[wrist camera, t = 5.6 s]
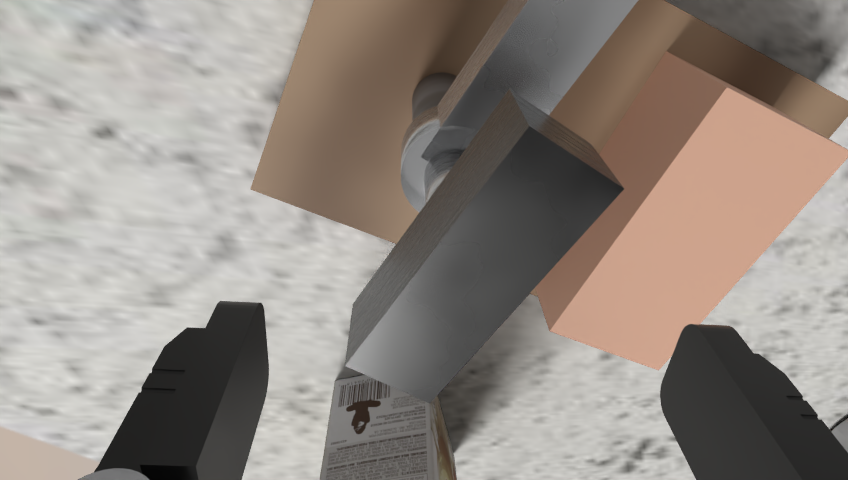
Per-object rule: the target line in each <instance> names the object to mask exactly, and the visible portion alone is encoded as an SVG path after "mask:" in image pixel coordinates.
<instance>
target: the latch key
mask: <svg viewBox="0 0 848 480" xmlns="http://www.w3.org/2000/svg"><path fill="white" fill-rule="evenodd" d="M637 1H638V0H508V1H507V3H506V4H505V6H504V7H503V9H502V10H501V12H500V13H499V15H498V16H497V18H496V19H495V21H494V22H493V24H492V25H491V27H490V28H489V30H488V31H487V33H486V34H485V36H484V37H483V39H482V40H481V42H480V43H479V44H478V46H477V47H476V49H475V50H474V52H473V53H472V55H471V56H470V58H469V59H468V61H467V62H466V64H465V65H464V67H463V68H462V70H461V71H460V73H459V74H458V76H457V77H456V79H455V80H454V82H453V83H452V85H451V86H450V88H449V89H448V91H447V92H446V94H445V95H444V96H443V98H442V99H441V101H440V102H439V104H438V105H437V106H435V107H432V108H430V109H428V110H426V111H424V112H423V113H421V114H420V115H419V116H417V117H416V118H415V119H414V120H413V121H412V123H411V124H410V125H409V127H408V128H407V130H406V132H405V135H404V137H403V141H402V146H401V184H402V189H403V192H404V194H405V196H406V198H407V200H408V201H409V203H410V204H411V205H412V206H413V207H414V209H416V210H417V211H418V212H419V214H418V215H417V217H416V218H415V219H414V221H413V222H412V223H411V225H410V226H409V228H408V229H407V230H406V232H405V233H404V234H403V236H402V237H401V239H400V240H399V241H398V243H397V244H396V246H395V247H394V248H393V250H392V251H391V252H390V254H389V255H388V257H387V258H386V259H385V261H384V262H383V263H382V265H381V266H380V268H379V269H378V270H377V272H376V273H375V274H374V276H373V277H372V279H371V280H370V281H369V283H368V284H367V285H366V287H365V288H364V290H363V291H362V292H361V294H360V295H359V296H358V298H357V299H356V301H355V302H354V303H353V308H352V316H351V324H350V331H349V339H348V347H347V354H346V362H345V366H346V367H348V368H351V369H353V370H355V371H357V372H360V373H362V374H364V375H366V376H369V377H371V378H373V379H375V380H378V381H380V382H382V383H385V384H387V385H389V386H391V387H394V388H396V389H398V390H400V391H403V392H405V393H407V394H409V395H412V396H414V397H416V398H418V399H421V400H423V401H425V402H427V403H431V402H432V401H433V399H434V398H435V397H436V396H437V395H438V394H439V393H440V392H441V391H442V390H443V388H444V387H445V386H446V385H447V384H448V383H449V382H450V381H451V380H452V379H453V377H454V376H455V375H456V374H457V373H458V372H459V371H460V370H461V369H462V368H463V366H464V365H465V364H466V363H467V362H468V361H469V360H470V359H471V358H472V356H473V355H474V354H475V353H476V352H477V351H478V350H479V349H480V348H481V347H482V345H483V344H484V343H485V342H486V341H487V340H488V339H489V338H490V337H491V336H492V334H493V333H494V332H495V331H496V330H497V329H498V328H499V327H500V326H501V324H502V323H503V322H504V321H505V320H506V319H507V318H508V317H509V316H510V315H511V313H512V312H513V311H514V310H515V309H516V308H517V307H518V306H519V305H520V304H521V302H522V301H523V300H524V299H525V298H526V297H527V296H528V295H529V294H530V293H531V291H532V290H533V289H534V288H535V287H536V286H537V285H538V284H539V283H540V281H541V280H542V279H543V278H544V277H545V276H546V275H547V274H548V273H549V272H550V270H551V269H552V268H553V267H554V266H555V265H556V264H557V263H558V262H559V261H560V259H561V258H562V257H563V256H564V255H565V254H566V253H567V252H568V251H569V249H570V248H571V247H572V246H573V245H574V244H575V243H576V242H577V241H578V240H579V238H580V237H581V236H582V235H583V234H584V233H585V232H586V231H587V230H588V229H589V227H590V226H591V225H592V224H593V223H594V222H595V221H596V220H597V219H598V218H599V216H600V215H601V214H602V213H603V212H604V211H605V210H606V209H607V208H608V206H609V205H610V204H611V203H612V202H613V201H614V200H615V199H616V198H617V197H618V195H619V194H620V193H621V192H622V191H623V190H624V187H623V186H622V185H621V183H620V182H619V181H618V179H617V178H616V177H615V175H614V174H613V173H612V171H611V170H610V169H609V167H608V166H607V165H606V163H605V162H604V161H603V159H602V158H601V157H600V155H599V154H598V153H597V151H596V150H595V148H594V147H593V146H592V144H591V143H589V142H588V141H586V140H585V139H583V138H582V137H580V136H579V135H577V134H576V133H574V132H573V131H571V130H570V129H568V128H567V127H565V126H564V125H562V124H561V123H560V122H558V121H557V120H555V119H554V118H552V117H551V116H549V114H550V113H551V112H552V111H553V109H554V108H555V107H556V105H557V104H558V103H559V102H560V100H561V99H562V98H563V96H564V95H565V94H566V93H567V91H568V90H569V89H570V87H571V86H572V85H573V84H574V82H575V81H576V80H577V78H578V77H579V76H580V75H581V73H582V72H583V71H584V69H585V68H586V67H587V66H588V64H589V63H590V62H591V60H592V59H593V58H594V57H595V55H596V54H597V53H598V51H599V50H600V49H601V48H602V46H603V45H604V44H605V43H606V41H607V40H608V39H609V37H610V36H611V35H612V34H613V32H614V31H615V30H616V28H617V27H618V26H619V25H620V23H621V22H622V21H623V19H624V18H625V17H626V16H627V14H628V13H629V12H630V10H631V9H632V8H633V7H634V5H635V4H636V3H637Z"/></svg>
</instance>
